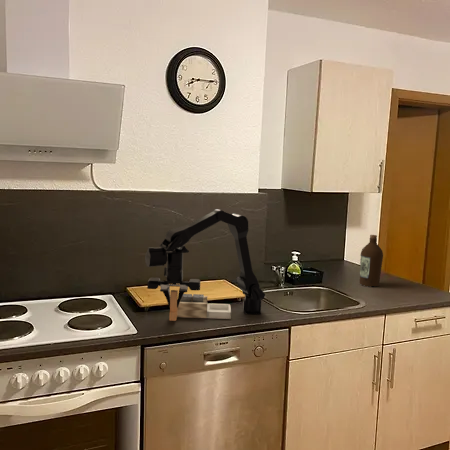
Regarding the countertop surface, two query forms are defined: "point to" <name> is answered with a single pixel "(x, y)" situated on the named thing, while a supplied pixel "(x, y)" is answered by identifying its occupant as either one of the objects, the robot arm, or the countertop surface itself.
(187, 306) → the rail
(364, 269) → the olive oil
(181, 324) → the countertop surface
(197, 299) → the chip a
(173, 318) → the rake tool
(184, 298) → the grey cube
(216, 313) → the tray
